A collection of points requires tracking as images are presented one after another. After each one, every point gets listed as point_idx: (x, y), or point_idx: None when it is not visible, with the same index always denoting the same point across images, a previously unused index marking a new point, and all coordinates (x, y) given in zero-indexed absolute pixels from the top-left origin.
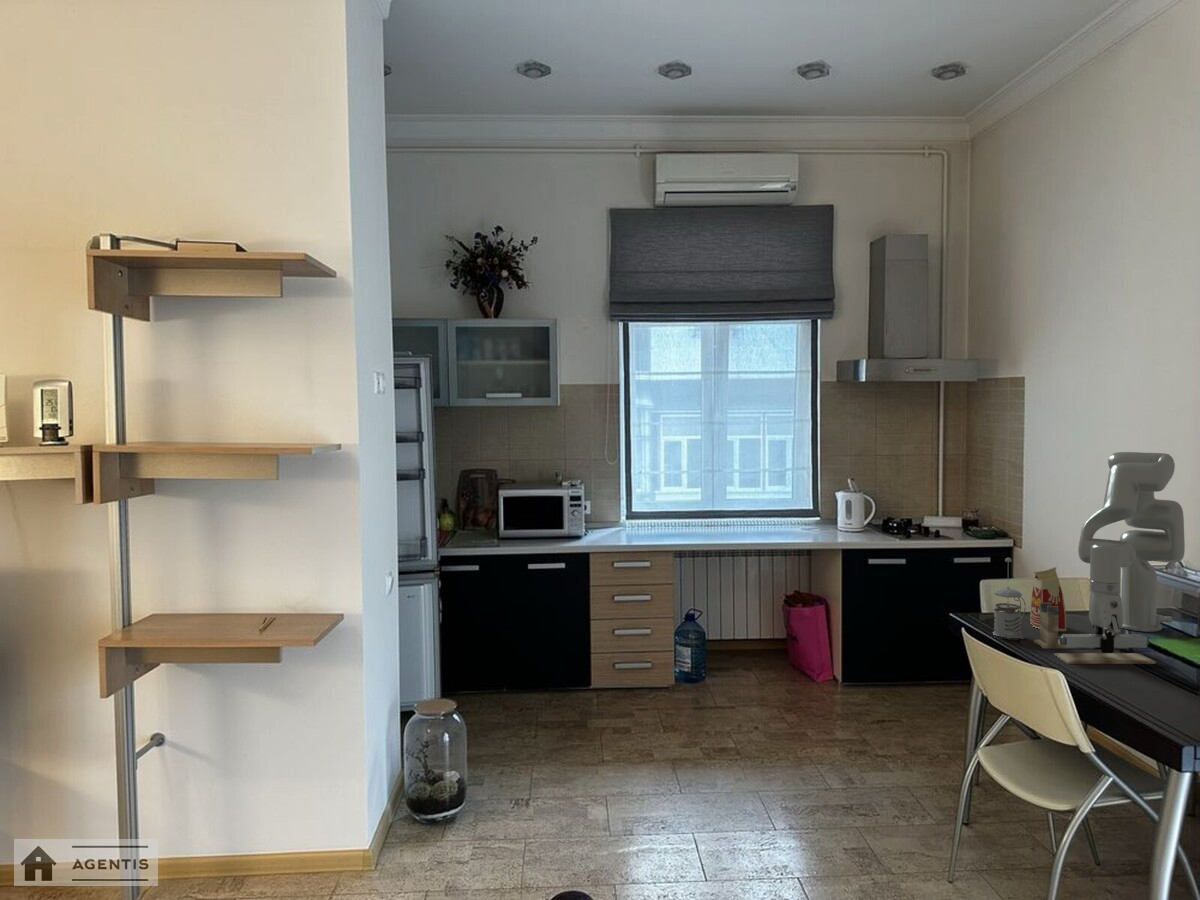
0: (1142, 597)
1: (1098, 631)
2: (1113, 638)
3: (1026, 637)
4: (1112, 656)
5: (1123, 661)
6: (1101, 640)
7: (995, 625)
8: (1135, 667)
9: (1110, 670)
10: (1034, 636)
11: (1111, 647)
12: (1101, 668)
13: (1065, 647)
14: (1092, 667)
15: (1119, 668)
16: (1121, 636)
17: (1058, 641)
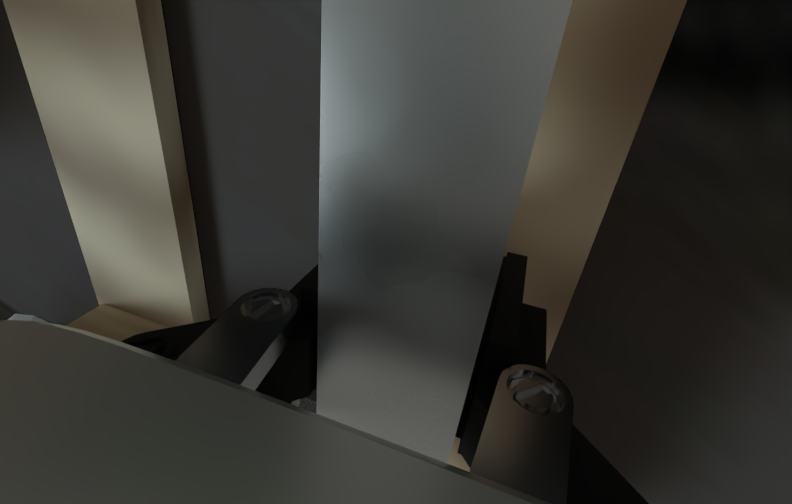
0: None
1: (271, 395)
2: (576, 429)
3: (54, 319)
4: None
5: (613, 179)
6: (461, 434)
7: None
8: (779, 144)
9: (735, 407)
10: (24, 274)
11: (542, 331)
12: (656, 419)
13: (200, 293)
14: (609, 446)
15: (724, 311)
16: (476, 203)
17: (121, 282)
